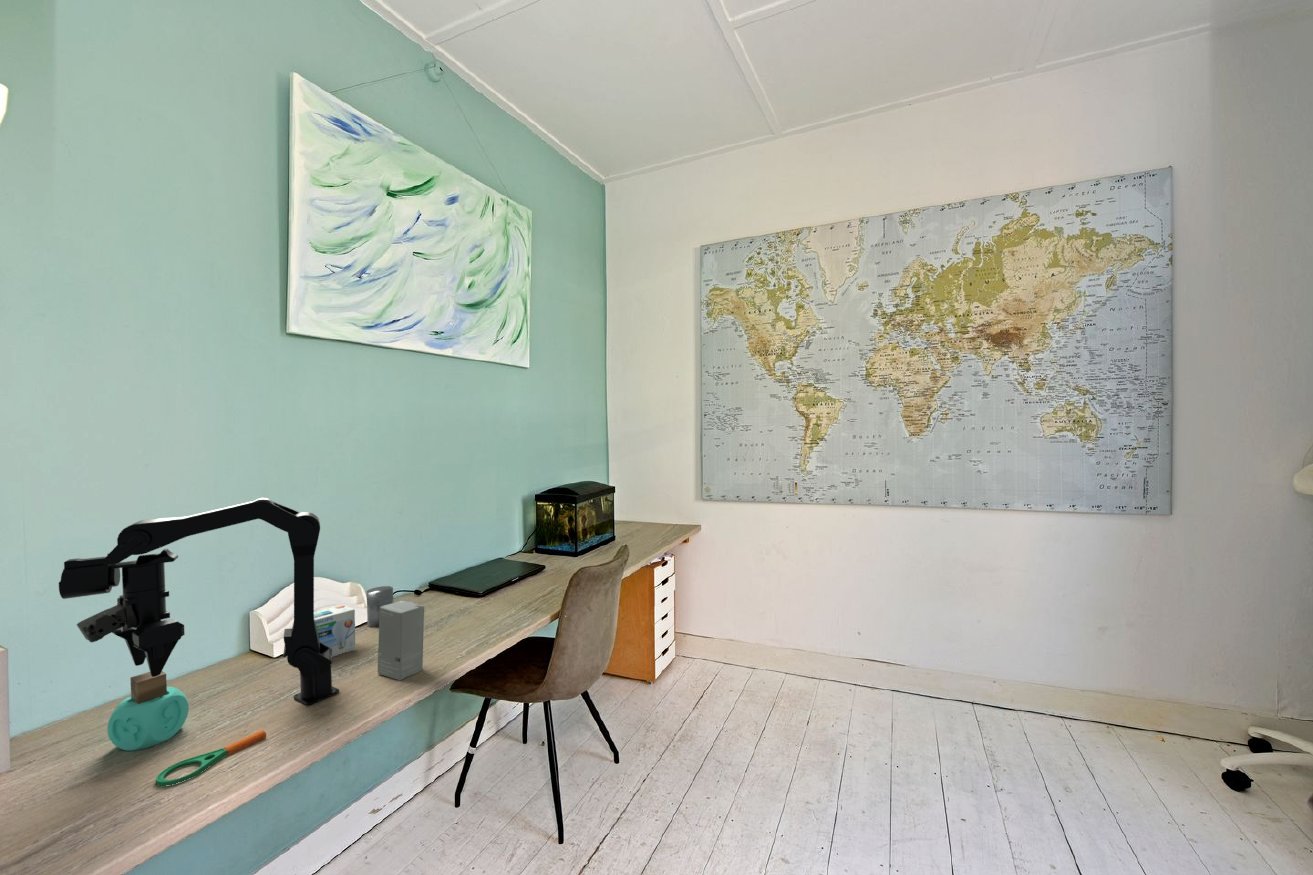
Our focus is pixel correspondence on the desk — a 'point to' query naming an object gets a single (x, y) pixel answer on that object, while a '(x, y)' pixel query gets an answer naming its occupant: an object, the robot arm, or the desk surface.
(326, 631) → the light bulb box
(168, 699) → the decorative dice
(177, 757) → the desk surface
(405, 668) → the skincare box
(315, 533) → the robot arm
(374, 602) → the grey rounded block
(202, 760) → the magnifying glass
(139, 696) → the walnut cube
